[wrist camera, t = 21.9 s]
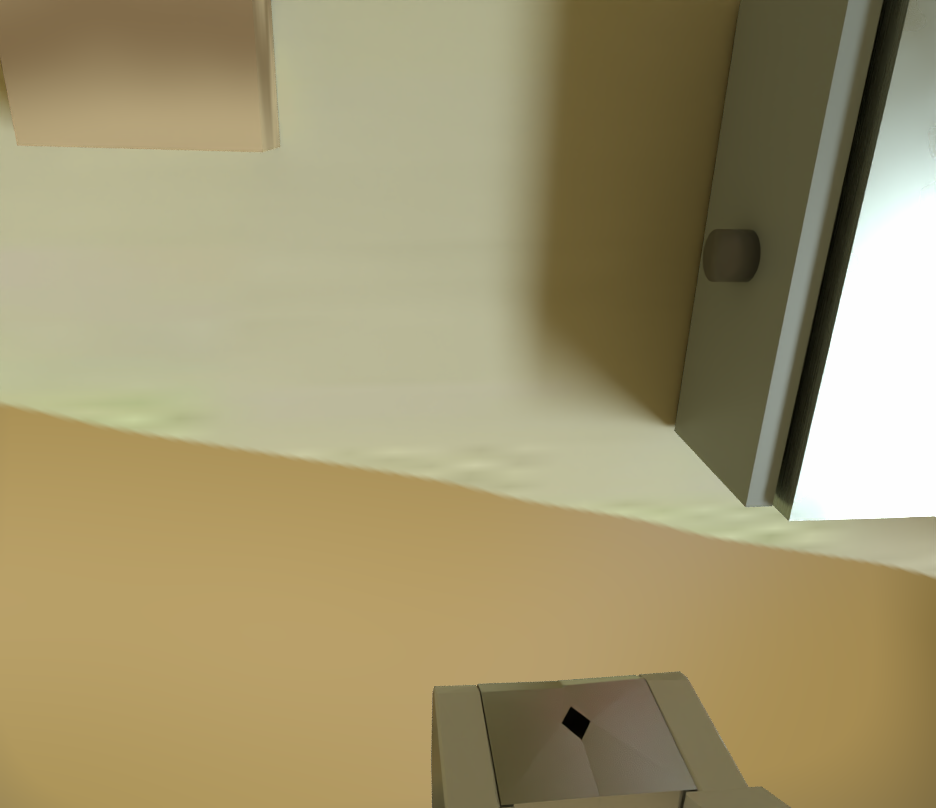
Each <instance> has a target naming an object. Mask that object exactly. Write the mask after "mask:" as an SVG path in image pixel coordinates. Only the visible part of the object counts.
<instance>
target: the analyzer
mask: <svg viewBox="0 0 936 808" xmlns="http://www.w3.org/2000/svg"><path fill="white" fill-rule="evenodd" d="M773 506H774V507H775V508H776V509H777V510H778V511H779V512H780V513H781V514H782V515H783V516H784V517H785V518H786V519H787V520H789V521H806V520H835V519H863V518H892V517H920V516H936V0H883V3H882V8H881V12H880V17H879V21H878V26H877V31H876V35H875V40H874V44H873V49H872V53H871V58H870V62H869V67H868V72H867V76H866V81H865V85H864V90H863V94H862V99H861V103H860V108H859V113H858V117H857V122H856V126H855V131H854V135H853V140H852V145H851V149H850V154H849V158H848V163H847V167H846V172H845V176H844V181H843V186H842V190H841V195H840V199H839V204H838V208H837V213H836V218H835V222H834V227H833V231H832V236H831V240H830V245H829V249H828V254H827V259H826V263H825V268H824V272H823V277H822V281H821V286H820V290H819V295H818V300H817V304H816V309H815V313H814V318H813V322H812V327H811V332H810V336H809V341H808V345H807V350H806V354H805V359H804V363H803V368H802V373H801V377H800V382H799V386H798V391H797V395H796V400H795V405H794V409H793V414H792V418H791V423H790V427H789V432H788V436H787V441H786V446H785V450H784V455H783V459H782V464H781V468H780V473H779V477H778V482H777V487H776V491H775V496H774V500H773Z"/></svg>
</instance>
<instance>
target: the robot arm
mask: <svg viewBox="0 0 936 808" xmlns="http://www.w3.org/2000/svg"><path fill="white" fill-rule="evenodd" d="M431 749H432V750H431V772H432V808H791V807H789V806H788V805H786V804H785V803H784V802H782V801H781V800H780V799H778V798H777V797H775V796H774V795H773V794H771V793H770V792H769V791H767V790H766V789H764V788H763V787H748V785H747V783H746V782H745V780H744V778H743V776H742V775H741V773H740V771H739V769H738V767H737V766H736V764H735V762H734V760H733V758H732V757H731V755H730V753H729V751H728V749H727V748H726V746H725V744H724V742H723V741H722V739H721V737H720V735H719V733H718V732H717V730H716V728H715V727H714V724H713V723H712V721H711V719H710V718H709V716H708V714H707V712H706V710H705V708H704V707H703V705H702V703H701V701H700V699H699V698H698V696H697V694H696V693H695V691H694V689H693V687H692V685H691V683H690V682H689V680H688V679H687V677H686V676H685V675H684V674H682V673H681V672H667V673H653V674H640V675H639V676H636V675H629V676H615V677H602V678H587V679H573V680H560V681H544V682H518V683H489V684H478V685H477V686H476V685H465V686H464V685H463V686H434V690H433V698H432V747H431Z"/></svg>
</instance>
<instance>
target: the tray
mask: <svg viewBox="0 0 936 808" xmlns="http://www.w3.org/2000/svg"><path fill="white" fill-rule="evenodd" d="M882 3H883V0H741V1H740V6H739V13H738V19H737V26H736V33H735V39H734V46H733V52H732V59H731V65H730V72H729V78H728V85H727V91H726V98H725V104H724V111H723V117H722V124H721V130H720V137H719V143H718V150H717V156H716V163H715V169H714V176H713V182H712V189H711V195H710V202H709V209H708V215H707V222H706V228H705V235H704V241H703V248H702V254H701V261H700V267H699V274H698V280H697V287H696V293H695V300H694V306H693V313H692V319H691V326H690V332H689V339H688V345H687V352H686V358H685V365H684V371H683V378H682V385H681V391H680V398H679V404H678V411H677V417H676V424H675V430H674V431H675V432H676V433H677V434H678V435H679V436H680V437H681V438H682V439H683V441H684V442H685V443H686V444H687V445H688V446H689V447H690V448H691V449H692V450H693V451H694V452H695V453H696V454H697V456H698V457H699V458H700V459H701V460H702V461H703V462H704V463H705V464H706V465H707V466H708V467H709V468H710V469H711V471H712V472H713V473H714V474H715V475H716V476H717V477H718V478H719V479H720V480H721V481H722V482H723V483H724V484H725V485H726V487H727V488H728V489H729V490H730V491H731V492H732V493H733V494H734V495H735V496H736V497H737V498H738V499H739V500H740V502H741V503H742V504H743V505H744V506H745V507H761V506H772V505H773V500H774V496H775V491H776V487H777V482H778V477H779V473H780V468H781V464H782V459H783V455H784V450H785V446H786V441H787V436H788V432H789V427H790V423H791V418H792V414H793V409H794V405H795V400H796V395H797V391H798V386H799V382H800V377H801V373H802V368H803V363H804V359H805V354H806V350H807V345H808V341H809V336H810V332H811V327H812V322H813V318H814V313H815V309H816V304H817V300H818V295H819V290H820V286H821V281H822V277H823V272H824V268H825V263H826V259H827V254H828V249H829V245H830V240H831V236H832V231H833V227H834V222H835V218H836V213H837V208H838V204H839V199H840V195H841V190H842V186H843V181H844V176H845V172H846V167H847V163H848V158H849V154H850V149H851V145H852V140H853V135H854V131H855V126H856V122H857V117H858V113H859V108H860V103H861V99H862V94H863V90H864V85H865V81H866V76H867V72H868V67H869V62H870V58H871V53H872V49H873V44H874V40H875V35H876V31H877V26H878V21H879V17H880V12H881V8H882Z"/></svg>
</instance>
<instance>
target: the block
mask: <svg viewBox="0 0 936 808" xmlns="http://www.w3.org/2000/svg"><path fill="white" fill-rule="evenodd" d="M0 59H1V64H2V69H3V74H4V79H5V85H6V90H7V95H8V100H9V105H10V110H11V116H12V121H13V126H14V131H15V136H16V141H17V145H21V146H57V147H93V148H130V149H166V150H203V151H239V152H265V151H268V150H272V149H275V148H278V147H280V138H279V122H278V106H277V90H276V74H275V59H274V43H273V27H272V11H271V0H0Z"/></svg>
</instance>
